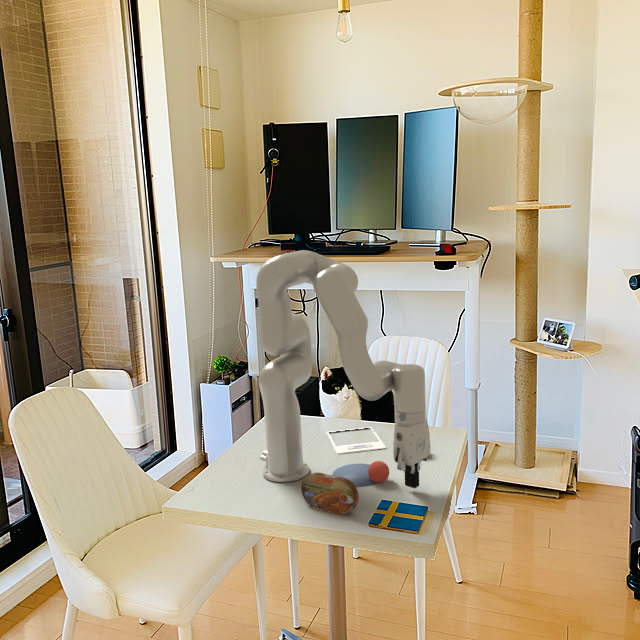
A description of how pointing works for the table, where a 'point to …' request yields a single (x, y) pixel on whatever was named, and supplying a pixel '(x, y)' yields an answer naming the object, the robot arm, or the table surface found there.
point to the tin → (330, 493)
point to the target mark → (355, 474)
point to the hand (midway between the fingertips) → (412, 485)
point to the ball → (378, 471)
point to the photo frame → (357, 445)
